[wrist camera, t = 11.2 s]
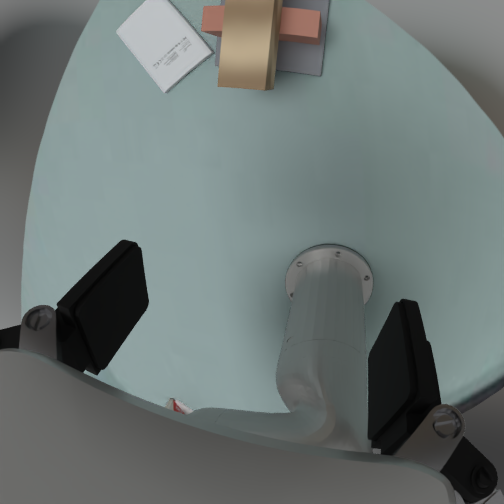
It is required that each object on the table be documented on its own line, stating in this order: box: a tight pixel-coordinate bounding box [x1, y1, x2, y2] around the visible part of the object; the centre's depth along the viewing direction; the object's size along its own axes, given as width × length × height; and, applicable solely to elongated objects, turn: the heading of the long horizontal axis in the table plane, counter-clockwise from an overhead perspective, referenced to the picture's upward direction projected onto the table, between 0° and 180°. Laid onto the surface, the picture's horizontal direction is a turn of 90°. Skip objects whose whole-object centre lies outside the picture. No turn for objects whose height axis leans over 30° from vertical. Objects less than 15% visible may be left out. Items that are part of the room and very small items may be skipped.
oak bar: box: [218, 0, 283, 90], centre depth 21 cm, size 14×4×4 cm, turn 175°
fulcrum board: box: [201, 0, 329, 76], centre depth 25 cm, size 10×12×7 cm
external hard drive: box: [116, 0, 214, 93], centre depth 31 cm, size 2×8×12 cm
